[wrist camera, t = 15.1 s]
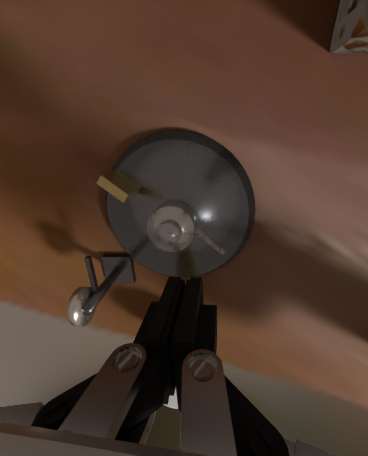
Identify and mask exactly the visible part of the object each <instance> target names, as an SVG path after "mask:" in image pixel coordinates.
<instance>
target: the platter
mask: <svg viewBox="0 0 368 456" xmlns="http://www.w3.org/2000/svg"><path fill="white" fill-rule="evenodd" d="M96 184H98V185H99V186H101V187H102V188H103V189H105V190H106V191H108V197H107V210H108V217H109V222H110V225H111V228H112V231H113V233H114V235H115V237H116V239H117V240H118V242H119V243H120V245H121V246H122V248H123V249H124V250H125V251H126V252H127V253H128V254H129V255H130V256H131V257H132V258H133V259H134V260H135V261H137V262H138V263H139V264H141V265H143V266H144V267H146V268H148V269H150V270H152V271H154V272H157V273H160V274H163V275H168V276H175V277H190V276H196V275H201V274H204V273H207V272H209V271H212V270H214V269H215V268H217V267H219V266H220V265H222V264H223V263H225V262H226V261H227V260H228V259H229V258H230V257H231V256H232V255H233V254H234V253H235V251H236V250H237V249H238V247H239V246H240V244H241V242H242V240H243V238H244V235H245V232H246V229H247V225H248V218H249V206H248V199H247V195H246V192H245V188H244V186H243V184H242V182H241V179H240V177H239V176H238V174H237V173H236V171H235V169H234V168H233V167H232V166H231V165H230V163H229V162H228V161H227V160H226V159H225V158H223V157H222V156H221V155H220V154H219V153H217V152H216V151H214V150H213V149H211V148H209V147H207V146H205V145H203V144H200V143H197V142H194V141H189V140H183V139H169V140H160V141H156V142H153V143H150V144H147V145H145V146H143V147H141V148H139V149H137V150H136V151H134V152H133V153H132V154H130V155H129V156H128V157H127V158H126V159H125V160H124V161H123V162H122V163H121V165H120V166H119V168H118V169H117V170H115V171H112V172H109V173H106V174H103V175H101V176H100V177H99V179H98V181H97V183H96ZM172 199H178V200H182V201H184V202H186V203H188V204H189V205H190V206H191V207H192V208H193V209H194V211H195V213H196V216H197V225H196V229H195V232H194V236H193V239H192V241H191V243H190V244H189V245H188V246H187V247H186V248H185V249H183V250H181V251H178V252H167V251H163V250H161V249H159V248H158V247H156V246H155V245H154V244H153V243H152V242H151V240H150V238H149V236H148V233H147V223H148V220H149V218H150V216H151V215H152V214H153V213H154V212H155V211H156V209H157V208H158V207H159V206H160V205H161V204H162V203H164V202H165V201H168V200H172Z"/></svg>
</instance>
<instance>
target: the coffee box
mask: <svg viewBox="0 0 368 456" xmlns="http://www.w3.org/2000/svg"><path fill="white" fill-rule="evenodd" d="M330 52H331V53H368V0H340V4H339V9H338V13H337V18H336V22H335V27H334V31H333V36H332V41H331V46H330Z"/></svg>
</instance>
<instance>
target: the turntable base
mask: <svg viewBox="0 0 368 456" xmlns="http://www.w3.org/2000/svg"><path fill="white" fill-rule="evenodd" d="M169 139H183V140H189V141H194V142H197V143H200V144H203V145H205V146H207V147H209V148H211V149H213V150H214V151H216V152H217V153H219V154H220V155H221V156H222V157H223V158H225V159H226V160H227V161H228V162H229V163H230V165H231V166H232V167H233V168H234V169H235V171H236V173H237V174H238V176H239V177H240V179H241V182H242V184H243V186H244V188H245V192H246V195H247V199H248V206H249V218H248V225H247V229H246V232H245V235H244V238H243V240H242V242H241V244H240V246H239V247H238V249H237V250H236V251H235V253H234V254H233V255H232V256H231V257H230V258H229V259H228V260H227V261H226V262H225V263H223V264H222V265H220V266H219V267H217V268H215V269H214V270H216V269H218V268H220V267H222V266H224V265H225V264H226V263H228V262H229V261H230V260H232V259H233V258H234V257H235V256H236V255H237V254H238V252H239V251H240V250H241V249H242V247H243V246H244V244H245V243H246V241H247V239H248V237H249V235H250V232H251V230H252V226H253V222H254V215H255V199H254V193H253V189H252V186H251V183H250V180H249V178H248V176H247V174H246V172H245V170H244V168H243V167H242V165H241V164H240V162H239V161H238V160H237V159H236V158H235V156H234V155H233V154H232V153H231V152H230V151H228V150H227V149H226V148H225V147H224V146H222V145H221V144H219V143H218V142H216V141H214V140H212V139H210V138H208V137H206V136H203V135H200V134H196V133H193V132H185V131H167V132H161V133H157V134H154V135H150V136H148V137H146V138H144V139H142V140H140V141H138V142H137V143H135V144H134V145H132V146H131V147H130V148H129V149H128V150H127V151H126V152H124V154H123V155H122V156H121V157H120V159H119V160H118V161H117V163H116V165H115V166H114V168H113V170H112V171H115V170H117V169H118V168H119V166H120V165H121V163H122V162H123V161H124V160H125V159H126V158H127V157H128V156H129V155H130V154H132V153H133V152H134V151H136V150H137V149H139V148H141V147H143V146H145V145H147V144H150V143H153V142H156V141H160V140H169ZM107 197H108V191H106V210H107ZM107 216H108V210H107ZM108 220H109V217H108ZM109 223H110V222H109ZM110 226H111V225H110ZM214 270H212V271H214ZM212 271H209V272H212ZM209 272H207V273H209ZM204 274H206V273H204ZM201 275H202V274H201ZM196 276H198V275H196Z"/></svg>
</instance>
